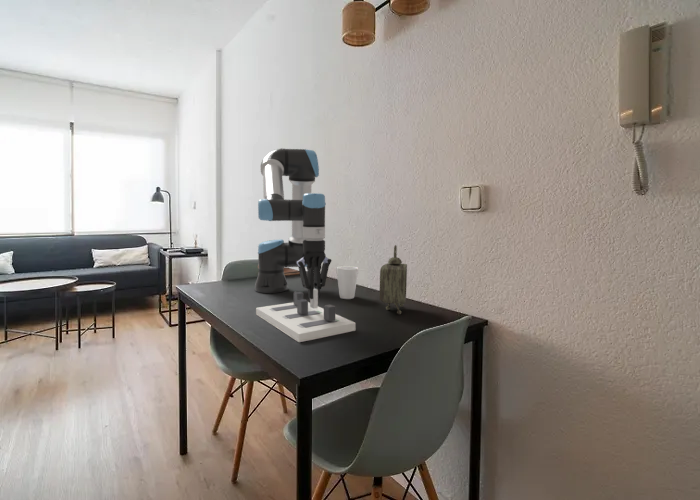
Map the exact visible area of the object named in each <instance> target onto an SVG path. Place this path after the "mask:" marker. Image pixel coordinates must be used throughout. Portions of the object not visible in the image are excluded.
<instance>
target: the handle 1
mask: <svg viewBox="0 0 700 500" xmlns="http://www.w3.org/2000/svg"><path fill="white" fill-rule="evenodd" d="M301 299H304V293H303V292H301V291H294V292H293V302H294V305H296V306H297V300H301Z"/></svg>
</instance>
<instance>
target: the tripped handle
mask: <svg viewBox="0 0 700 500" xmlns="http://www.w3.org/2000/svg"><path fill="white" fill-rule="evenodd" d="M308 302H309V301H308V300H307V299H306V298H303V299H301V300H297V313H298V314H300V315H304V314H308Z"/></svg>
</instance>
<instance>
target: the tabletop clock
mask: <svg viewBox="0 0 700 500" xmlns="http://www.w3.org/2000/svg"><path fill="white" fill-rule="evenodd" d="M397 250H398V249H397V245H396V244H395V245H394V247H393V256H392V257H390V258H389V260H388V261H387V263H385V264H383V265H382V266H381V268H380V269H379V270H380V271H379V301H381V302H382V303H384V304H387V305H386V306H385V310H386V311H389V310H390V309H391V306H390V305H391V304H394V306H395V307H396V314H397V315H401V314H402V311H401V309H400V308H403V307H404V305H405V304H406V299H407V285H408V283H407V280H408V264H407V263H403V261H402V259H400V257H397V255H398V253H397ZM399 307H400V308H399Z"/></svg>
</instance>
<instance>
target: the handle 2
mask: <svg viewBox="0 0 700 500" xmlns="http://www.w3.org/2000/svg"><path fill="white" fill-rule="evenodd" d="M323 309H324V319H325V320H327V321H333V320H335V314H336V305H334V304H325V305H323Z"/></svg>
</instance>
